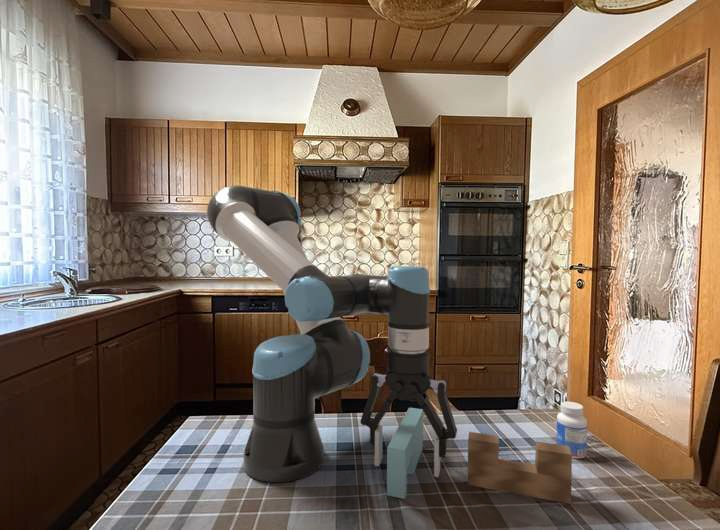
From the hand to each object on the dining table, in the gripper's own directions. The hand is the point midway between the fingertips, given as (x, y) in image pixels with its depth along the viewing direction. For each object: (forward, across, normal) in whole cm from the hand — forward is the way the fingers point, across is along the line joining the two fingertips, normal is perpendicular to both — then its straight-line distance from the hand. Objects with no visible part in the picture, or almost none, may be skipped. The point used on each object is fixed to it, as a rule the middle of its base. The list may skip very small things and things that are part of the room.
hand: (407, 467), depth 72 cm
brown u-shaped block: (0, +19, 0) cm, 19 cm away
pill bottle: (0, +30, +17) cm, 35 cm away
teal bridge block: (0, 0, 0) cm, 0 cm away
